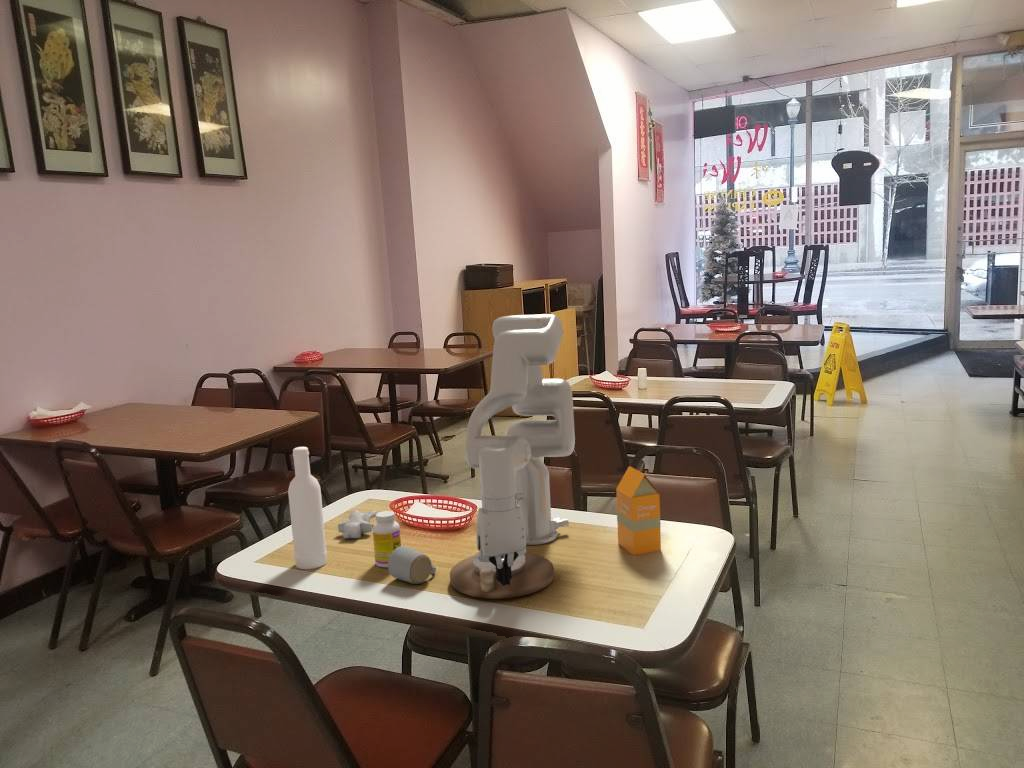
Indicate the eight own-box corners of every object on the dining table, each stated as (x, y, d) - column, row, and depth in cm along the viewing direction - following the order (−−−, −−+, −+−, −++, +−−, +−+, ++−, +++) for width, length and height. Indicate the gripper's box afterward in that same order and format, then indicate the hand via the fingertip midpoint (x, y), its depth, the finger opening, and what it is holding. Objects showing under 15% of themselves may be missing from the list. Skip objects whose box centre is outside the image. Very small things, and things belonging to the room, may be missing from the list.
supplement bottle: (396, 568, 189) (392, 518, 187) (371, 568, 191) (367, 518, 189) (406, 558, 196) (402, 509, 194) (381, 557, 197) (377, 509, 195)
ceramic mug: (412, 590, 176) (410, 557, 175) (388, 582, 181) (386, 550, 180) (444, 574, 184) (443, 544, 183) (420, 567, 190) (418, 537, 189)
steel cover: (531, 561, 183) (531, 548, 183) (516, 581, 172) (515, 567, 171) (484, 557, 187) (483, 545, 186) (466, 577, 176) (465, 563, 175)
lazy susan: (564, 559, 187) (563, 537, 186) (539, 602, 164) (538, 577, 163) (470, 554, 194) (468, 533, 193) (434, 594, 171) (432, 570, 170)
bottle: (333, 562, 196) (323, 446, 191) (306, 572, 190) (294, 453, 185) (316, 555, 201) (305, 443, 196) (289, 565, 195) (277, 449, 191)
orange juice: (644, 538, 201) (642, 463, 198) (661, 550, 192) (659, 472, 189) (617, 543, 198) (614, 467, 195) (633, 555, 190) (630, 476, 187)
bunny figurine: (332, 527, 210) (349, 504, 225) (334, 544, 212) (351, 520, 226) (365, 527, 209) (380, 503, 224) (367, 544, 211) (382, 520, 225)
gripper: (525, 491, 171) (529, 570, 174) (460, 502, 166) (466, 583, 169) (538, 501, 164) (542, 582, 167) (471, 513, 159) (477, 596, 162)
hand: (504, 582), depth 168 cm, fingers closed
